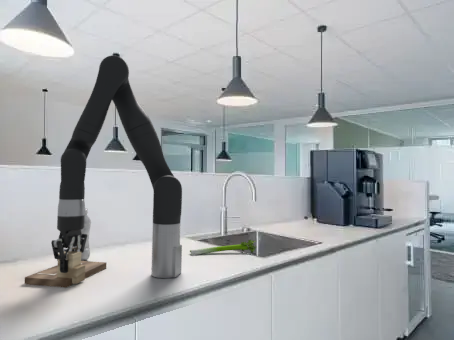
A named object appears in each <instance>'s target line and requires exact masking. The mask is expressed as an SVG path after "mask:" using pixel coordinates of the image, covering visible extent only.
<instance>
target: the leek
mask: <svg viewBox="0 0 454 340" xmlns="http://www.w3.org/2000/svg"><path fill="white" fill-rule="evenodd" d="M255 242H257V240H252V239H248V240H247V241H241V242H240V244H239V243H238V244H232V245H230V244H229V245H223V246H221V245H220V246H212V247H205V248H203V247H202V248H196V249H190V250H189V253H190V256H199V255H204V254H212V253H218V252H224V251H225V252H226V251H240V250H241V251H242V252H245V251H250V253H254V252H255V251H256V249H257V245H255V244H254V243H255Z"/></svg>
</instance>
